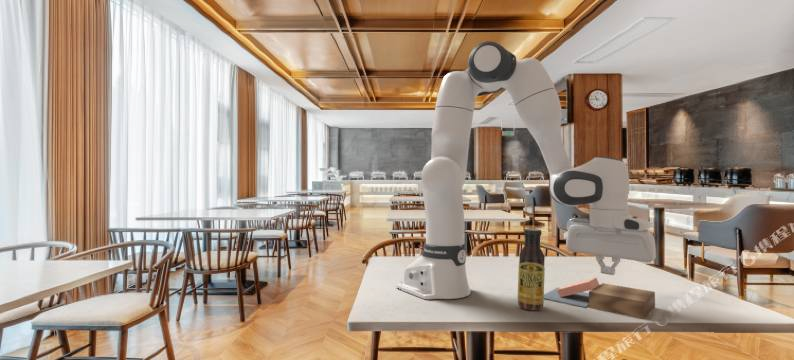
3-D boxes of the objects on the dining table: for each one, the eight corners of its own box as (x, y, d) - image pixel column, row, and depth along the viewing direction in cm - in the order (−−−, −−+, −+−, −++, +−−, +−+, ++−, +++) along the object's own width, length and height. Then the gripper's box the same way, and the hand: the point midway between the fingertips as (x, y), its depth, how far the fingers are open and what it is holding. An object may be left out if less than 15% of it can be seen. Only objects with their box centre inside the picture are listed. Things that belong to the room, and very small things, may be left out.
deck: (589, 307, 96) (588, 291, 96) (602, 297, 104) (602, 283, 104) (644, 319, 87) (644, 301, 87) (654, 307, 95) (654, 291, 95)
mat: (539, 298, 104) (539, 297, 104) (557, 288, 113) (557, 287, 113) (585, 308, 95) (585, 306, 95) (601, 296, 105) (601, 295, 105)
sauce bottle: (516, 310, 94) (516, 230, 95) (518, 302, 100) (517, 227, 100) (545, 313, 92) (544, 231, 92) (545, 305, 98) (544, 228, 98)
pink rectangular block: (560, 297, 103) (556, 290, 104) (568, 292, 108) (565, 285, 108) (592, 289, 98) (588, 281, 98) (599, 284, 102) (596, 277, 103)
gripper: (562, 217, 103) (561, 268, 103) (652, 224, 88) (651, 284, 88) (571, 216, 107) (570, 265, 107) (658, 222, 93) (657, 279, 93)
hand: (607, 273), depth 98 cm, fingers closed
